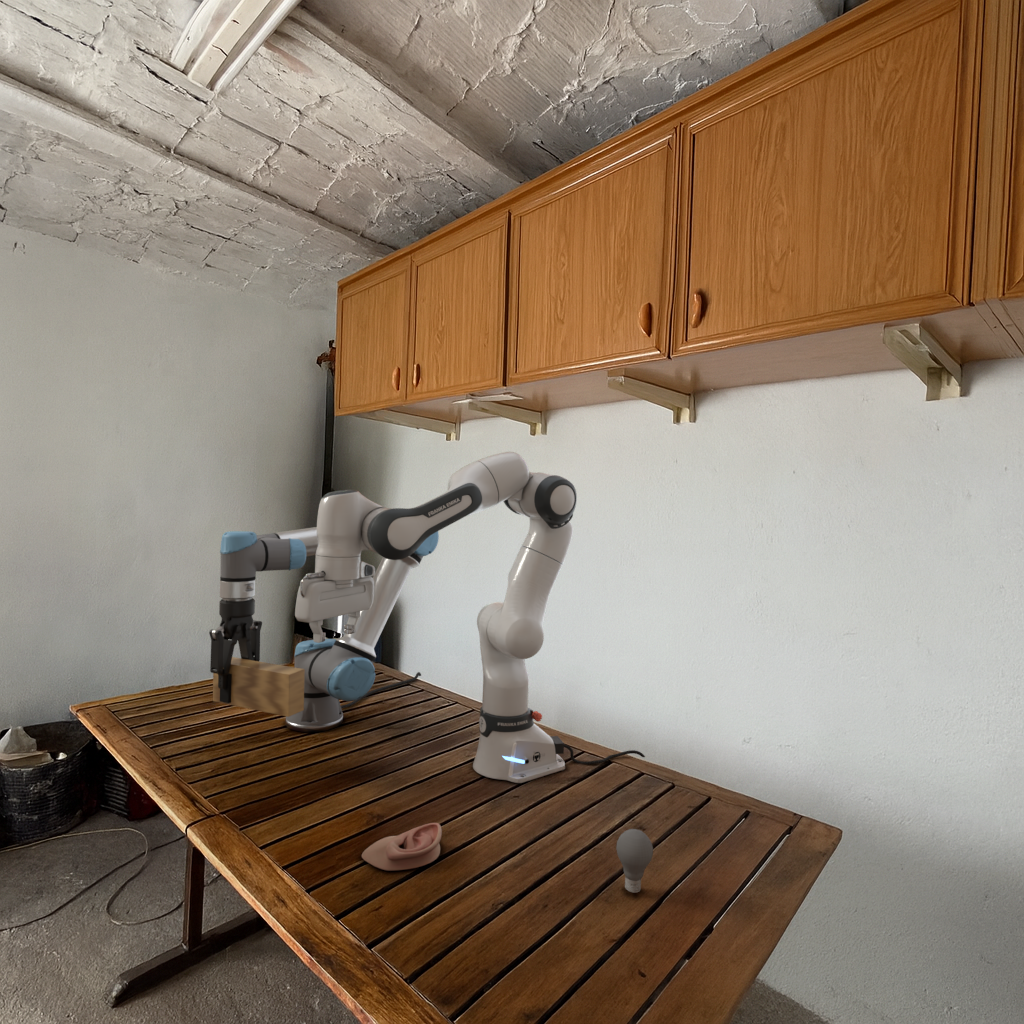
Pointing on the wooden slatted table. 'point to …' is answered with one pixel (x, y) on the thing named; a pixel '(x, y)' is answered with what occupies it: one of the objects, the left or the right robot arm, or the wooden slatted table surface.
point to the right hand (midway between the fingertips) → (335, 637)
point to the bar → (264, 687)
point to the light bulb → (634, 857)
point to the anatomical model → (406, 849)
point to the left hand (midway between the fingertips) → (235, 698)
